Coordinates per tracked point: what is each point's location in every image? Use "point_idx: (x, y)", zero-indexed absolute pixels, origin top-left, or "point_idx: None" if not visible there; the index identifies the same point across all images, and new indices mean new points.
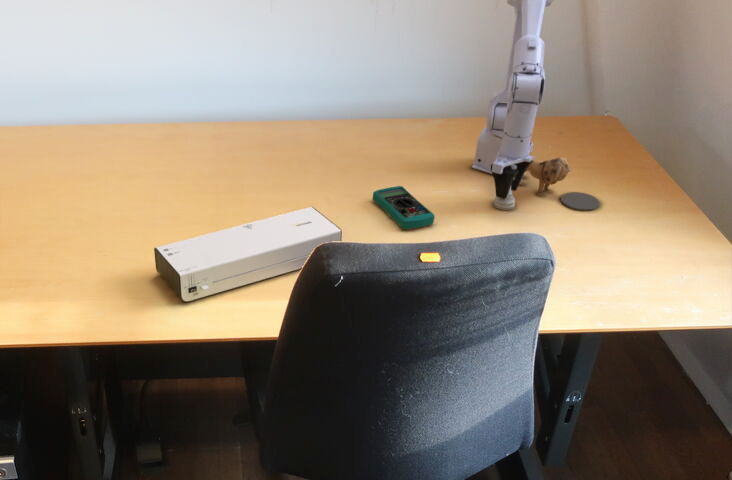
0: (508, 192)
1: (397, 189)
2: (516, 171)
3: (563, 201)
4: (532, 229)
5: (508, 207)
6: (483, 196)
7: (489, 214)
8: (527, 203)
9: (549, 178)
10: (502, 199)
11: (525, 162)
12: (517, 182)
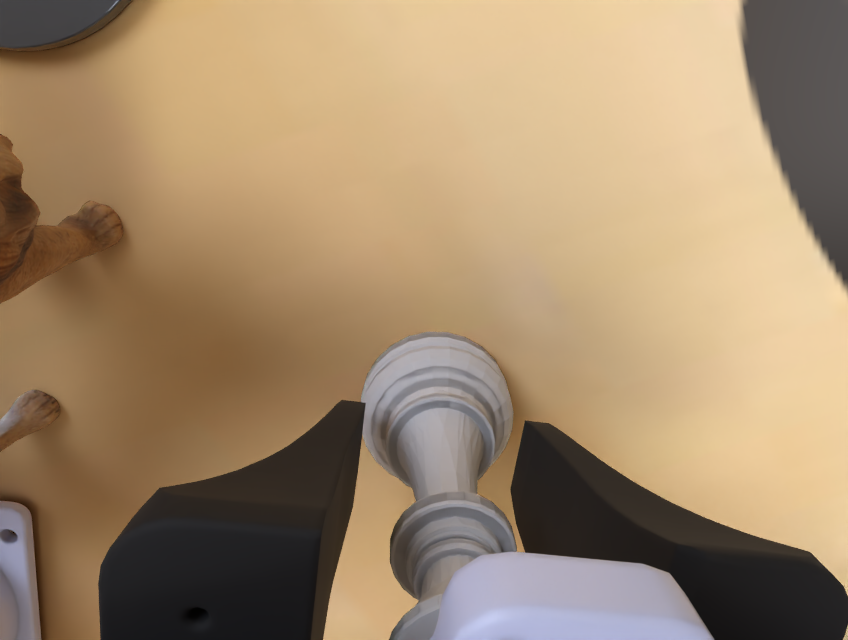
0: (546, 436)
1: None
2: (750, 577)
3: (104, 1)
4: (700, 97)
5: (493, 359)
6: (376, 542)
7: (605, 430)
8: (302, 268)
9: (2, 187)
10: (497, 434)
11: (320, 574)
12: (354, 437)
